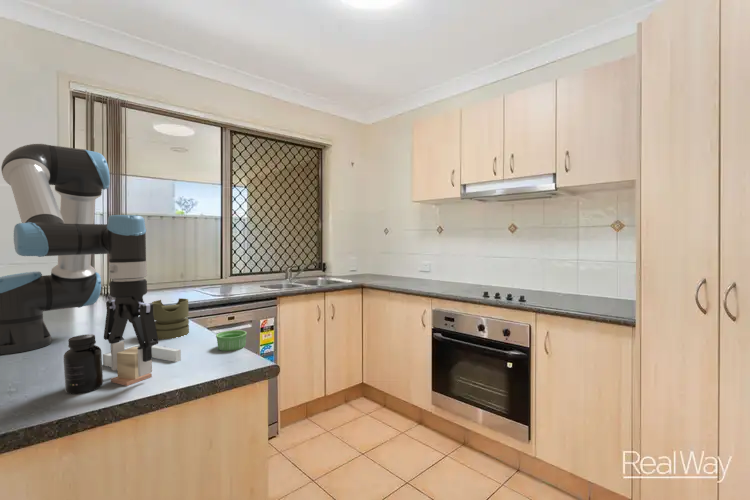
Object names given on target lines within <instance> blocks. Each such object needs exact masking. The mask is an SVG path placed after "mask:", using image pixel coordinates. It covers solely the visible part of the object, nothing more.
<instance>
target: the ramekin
mask: <svg viewBox="0 0 750 500" xmlns="http://www.w3.org/2000/svg"><path fill="white" fill-rule="evenodd" d="M247 334H248V333H247V331H245V330H241V329H236V330H235V329H233V330H225V331H222V332H219V333H216V335H215V338H216V341H217V342H216V343H217V349H218V350H219V351H222V352H231V351H238V350H242V349H243V348H245V347H246V343H247V342H246V341H247Z"/></svg>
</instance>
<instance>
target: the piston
mask: <svg viewBox="0 0 750 500" xmlns="http://www.w3.org/2000/svg"><path fill="white" fill-rule="evenodd" d="M151 303H152V304H153V316H154V321H155V326H156V331H157V337H158V340H171V339H172V338H173V339H177V338H176V337H178V338H182V337H181V336H183V337H185V336H184V335H186V336H188V335H189V334H188V333H190V320H189V315H190V314H189V313H190V312H189V299H188V298H178V301H177V303H175V304H169V305H164V304H163V302H162V300H161V299H160V300H159V299H157V300H153V301H152V302H151ZM187 334H188V335H187Z"/></svg>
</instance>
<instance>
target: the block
mask: <svg viewBox="0 0 750 500" xmlns="http://www.w3.org/2000/svg"><path fill="white" fill-rule="evenodd" d="M137 348H138V347H133V348H130V349H127V350H124V351H121V352H119V353H117V370H116V371H117V376H118V378H127V379H137V378H139V377H141V376H138V349H137ZM152 360H153V358H152V359H151V373H152V371H153V369H152V368H153V367H152V366H153V365H152V364H153V363H152V362H153V361H152Z"/></svg>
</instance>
